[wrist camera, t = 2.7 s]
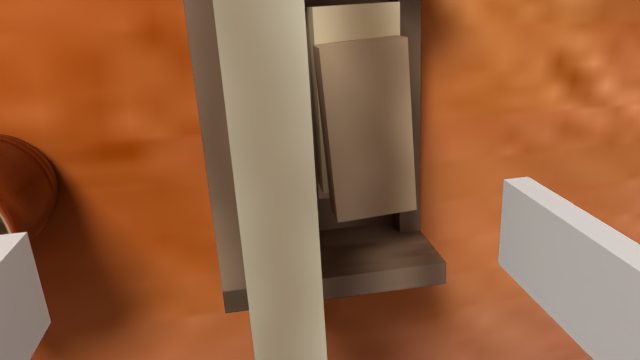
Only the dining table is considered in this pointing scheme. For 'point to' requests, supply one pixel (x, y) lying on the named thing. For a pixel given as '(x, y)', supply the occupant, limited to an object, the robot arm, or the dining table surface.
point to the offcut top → (367, 126)
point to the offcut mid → (344, 26)
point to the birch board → (274, 172)
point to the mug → (25, 188)
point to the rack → (335, 238)
